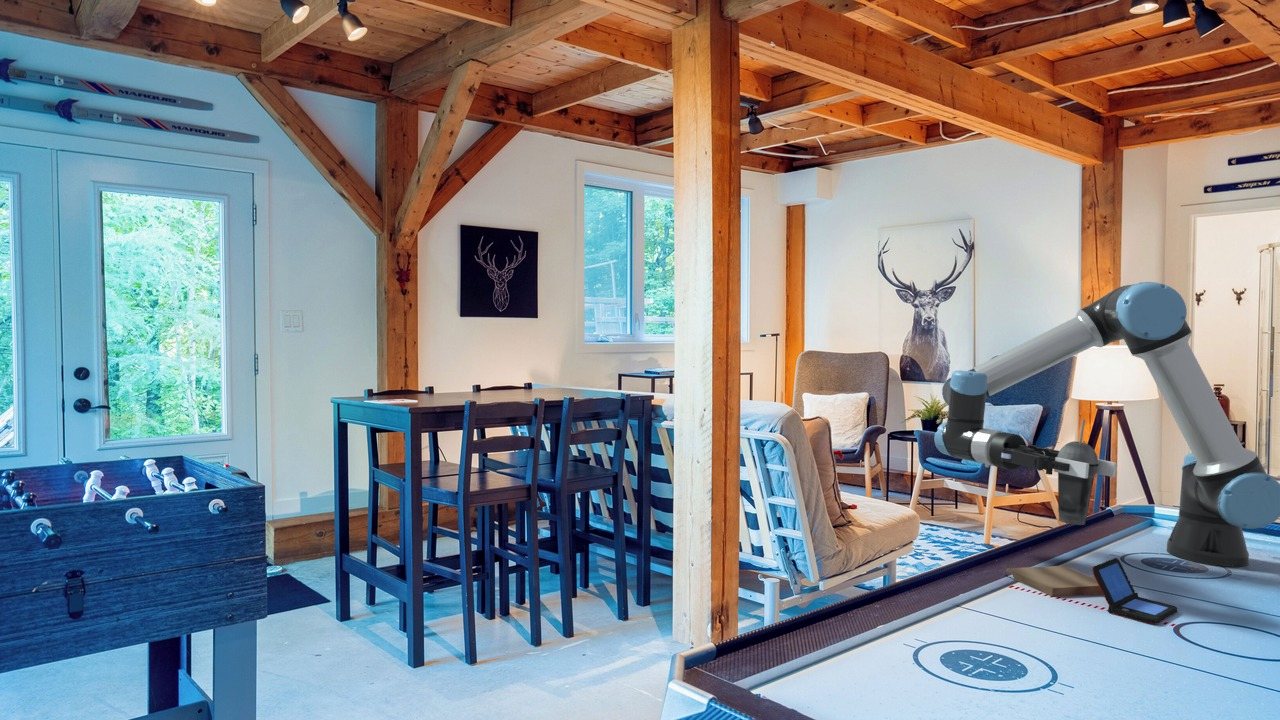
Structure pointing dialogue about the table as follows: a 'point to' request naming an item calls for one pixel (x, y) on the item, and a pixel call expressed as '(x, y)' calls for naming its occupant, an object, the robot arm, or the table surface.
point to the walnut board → (1056, 580)
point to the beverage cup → (1076, 482)
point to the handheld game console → (1128, 595)
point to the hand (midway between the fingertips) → (1100, 470)
